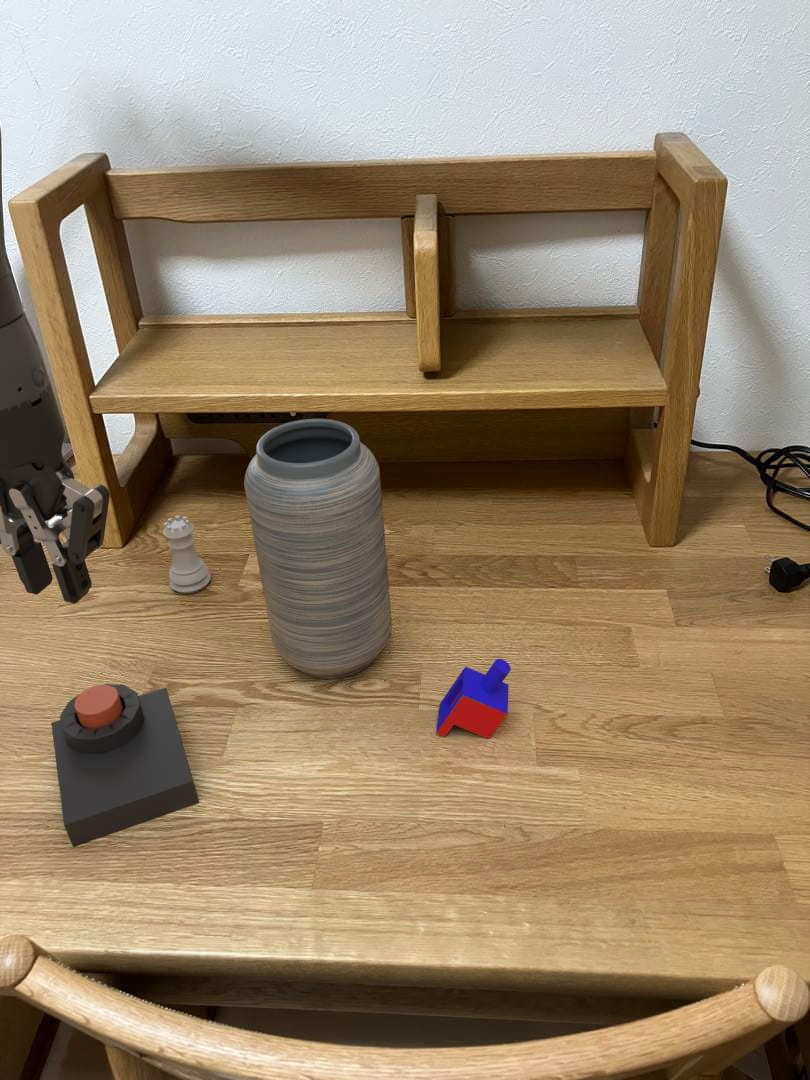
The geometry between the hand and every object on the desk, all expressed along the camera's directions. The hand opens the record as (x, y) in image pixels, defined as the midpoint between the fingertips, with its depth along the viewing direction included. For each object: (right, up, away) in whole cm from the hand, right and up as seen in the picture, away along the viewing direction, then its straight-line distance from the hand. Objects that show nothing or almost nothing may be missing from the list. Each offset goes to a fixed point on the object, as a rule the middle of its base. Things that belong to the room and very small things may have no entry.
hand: (59, 591), depth 69 cm
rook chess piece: (+3, -1, +29) cm, 30 cm away
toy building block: (+33, -12, +10) cm, 36 cm away
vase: (+20, -7, +19) cm, 28 cm away
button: (+1, -11, +7) cm, 13 cm away
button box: (+3, -16, +7) cm, 18 cm away
